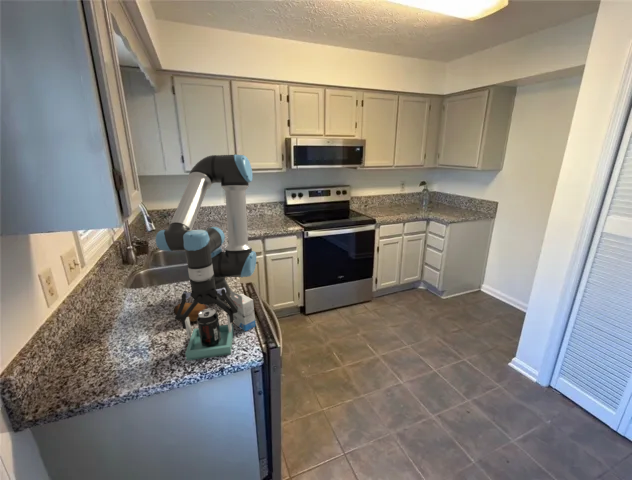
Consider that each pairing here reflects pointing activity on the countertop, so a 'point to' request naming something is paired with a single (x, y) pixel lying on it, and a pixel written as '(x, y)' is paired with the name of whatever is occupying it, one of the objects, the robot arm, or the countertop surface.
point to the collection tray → (220, 349)
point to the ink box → (243, 311)
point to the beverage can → (209, 327)
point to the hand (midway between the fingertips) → (210, 333)
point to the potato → (193, 313)
